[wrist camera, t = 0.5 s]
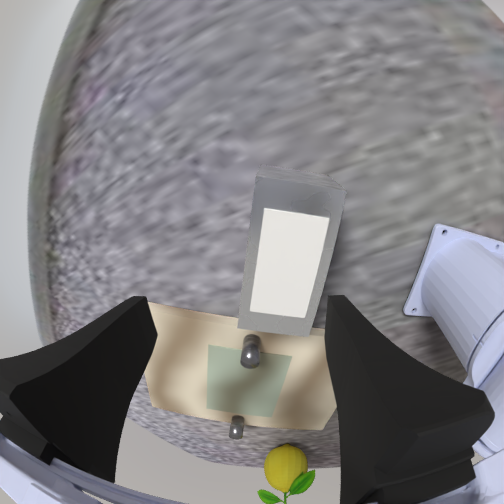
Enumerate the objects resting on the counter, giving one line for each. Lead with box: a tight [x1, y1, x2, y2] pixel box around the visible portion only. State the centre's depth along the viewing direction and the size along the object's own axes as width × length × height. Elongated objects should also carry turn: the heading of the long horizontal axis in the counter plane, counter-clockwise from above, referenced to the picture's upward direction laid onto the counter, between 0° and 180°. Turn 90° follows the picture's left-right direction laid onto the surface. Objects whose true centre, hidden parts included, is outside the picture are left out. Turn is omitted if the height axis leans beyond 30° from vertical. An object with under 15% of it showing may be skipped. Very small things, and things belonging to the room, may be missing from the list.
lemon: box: [258, 444, 315, 504], centre depth 27 cm, size 7×6×10 cm
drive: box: [237, 164, 347, 337], centre depth 17 cm, size 4×9×5 cm, turn 173°
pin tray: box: [144, 302, 337, 439], centre depth 24 cm, size 20×15×4 cm
